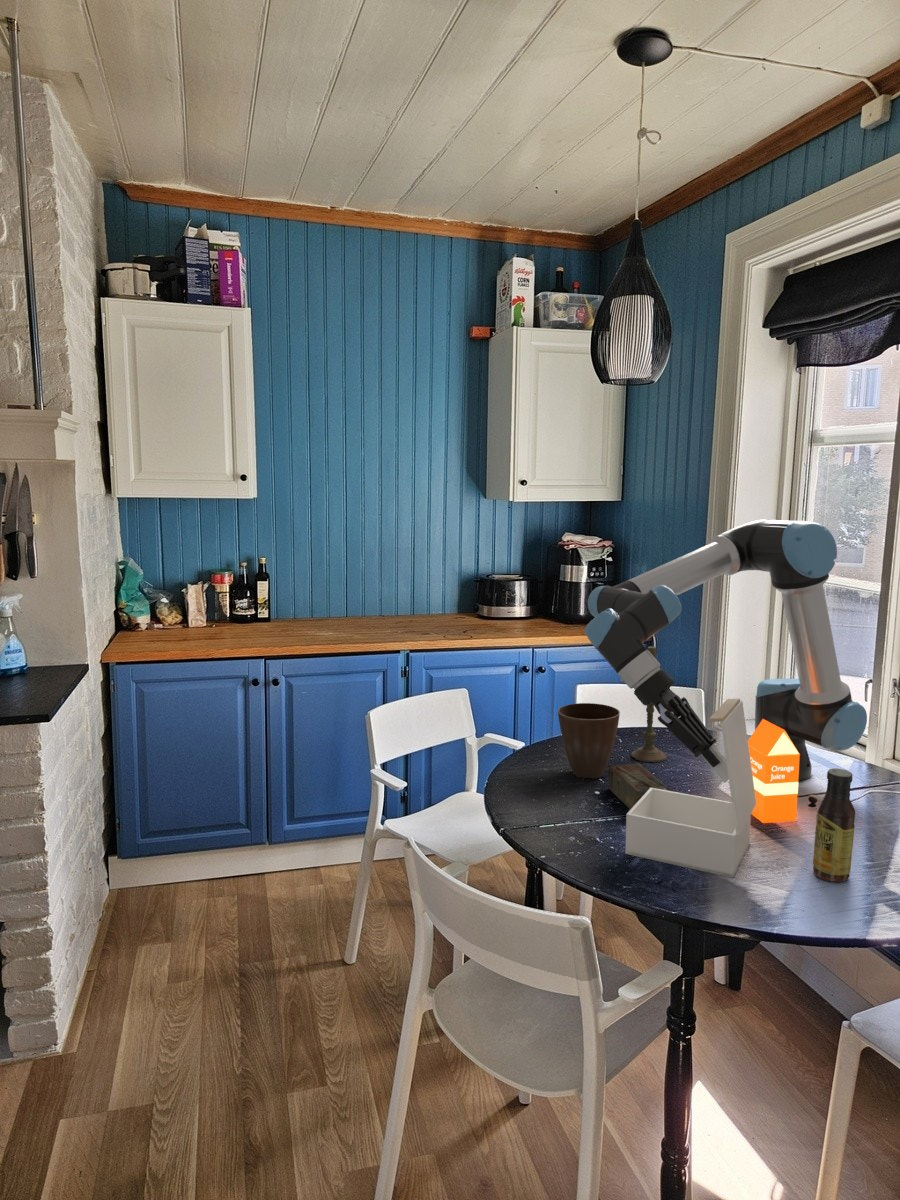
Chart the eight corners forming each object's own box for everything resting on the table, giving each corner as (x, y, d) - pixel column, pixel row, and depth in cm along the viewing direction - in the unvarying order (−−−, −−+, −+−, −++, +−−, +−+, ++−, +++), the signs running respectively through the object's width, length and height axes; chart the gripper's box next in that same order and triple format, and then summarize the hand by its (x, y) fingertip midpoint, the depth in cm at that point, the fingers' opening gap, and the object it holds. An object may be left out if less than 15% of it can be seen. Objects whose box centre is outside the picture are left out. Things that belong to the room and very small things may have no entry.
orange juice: (762, 823, 171) (767, 731, 168) (741, 807, 180) (745, 719, 177) (797, 820, 172) (802, 729, 170) (774, 804, 181) (778, 717, 178)
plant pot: (577, 788, 191) (579, 722, 189) (545, 768, 205) (546, 706, 203) (630, 779, 197) (632, 715, 195) (596, 760, 211) (597, 700, 209)
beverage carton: (639, 822, 173) (640, 792, 172) (606, 789, 191) (606, 762, 191) (674, 819, 174) (675, 789, 173) (638, 787, 193) (639, 760, 192)
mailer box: (625, 853, 157) (626, 814, 156) (649, 824, 171) (650, 787, 170) (733, 877, 147) (734, 835, 146) (749, 844, 161) (751, 805, 160)
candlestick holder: (670, 762, 209) (674, 647, 205) (635, 762, 209) (638, 647, 205) (662, 751, 218) (665, 641, 214) (627, 751, 218) (630, 641, 214)
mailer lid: (708, 719, 146) (723, 718, 144) (727, 698, 160) (742, 697, 159) (724, 834, 147) (739, 835, 145) (742, 803, 161) (756, 804, 160)
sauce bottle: (805, 868, 151) (811, 765, 148) (838, 867, 151) (844, 764, 148) (824, 885, 144) (831, 778, 141) (858, 884, 145) (865, 776, 142)
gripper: (643, 683, 166) (723, 778, 160) (622, 697, 155) (707, 799, 148) (670, 661, 162) (753, 756, 156) (651, 673, 151) (739, 777, 145)
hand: (730, 777), depth 152 cm, fingers closed
